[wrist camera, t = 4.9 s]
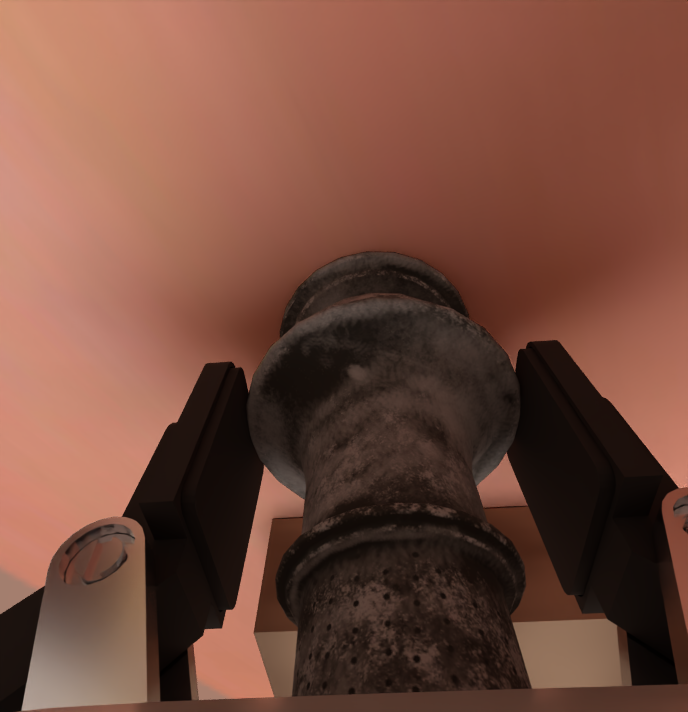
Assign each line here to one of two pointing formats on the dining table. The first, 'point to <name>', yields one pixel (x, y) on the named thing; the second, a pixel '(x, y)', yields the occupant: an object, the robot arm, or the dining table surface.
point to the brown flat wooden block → (530, 620)
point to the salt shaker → (391, 482)
